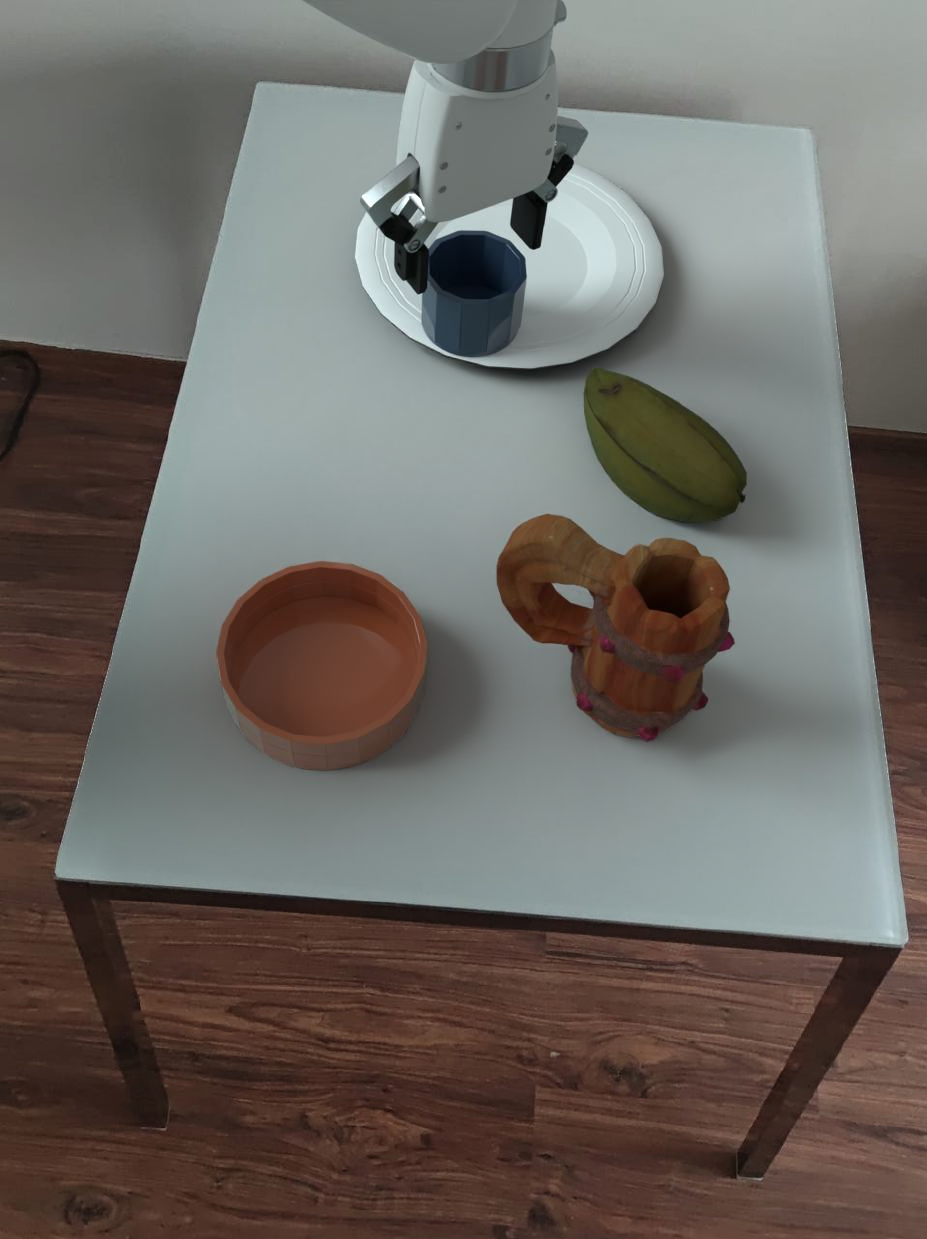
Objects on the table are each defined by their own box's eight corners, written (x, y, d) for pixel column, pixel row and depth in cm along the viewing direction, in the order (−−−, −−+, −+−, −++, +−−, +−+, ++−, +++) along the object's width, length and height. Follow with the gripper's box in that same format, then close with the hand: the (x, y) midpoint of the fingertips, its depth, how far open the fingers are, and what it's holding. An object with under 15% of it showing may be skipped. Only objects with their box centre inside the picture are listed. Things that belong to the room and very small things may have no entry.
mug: (716, 676, 81) (777, 549, 68) (675, 778, 77) (731, 663, 64) (515, 592, 84) (537, 455, 71) (465, 687, 80) (479, 559, 67)
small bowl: (454, 371, 91) (457, 317, 86) (402, 306, 94) (403, 251, 89) (538, 334, 93) (546, 280, 89) (485, 272, 96) (490, 217, 92)
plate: (325, 356, 94) (324, 338, 92) (387, 146, 106) (387, 128, 105) (647, 406, 93) (652, 389, 91) (670, 189, 106) (675, 171, 104)
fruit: (578, 534, 86) (591, 477, 81) (576, 405, 92) (588, 343, 87) (738, 544, 87) (762, 488, 81) (725, 414, 93) (747, 353, 87)
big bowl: (282, 806, 75) (277, 780, 71) (190, 647, 80) (182, 615, 77) (462, 710, 79) (465, 681, 75) (363, 564, 84) (362, 531, 81)
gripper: (571, -28, 78) (539, 191, 92) (333, 44, 72) (338, 265, 87) (640, 36, 75) (595, 252, 89) (396, 116, 69) (391, 333, 84)
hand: (469, 259), depth 88 cm, fingers open, 9 cm apart
